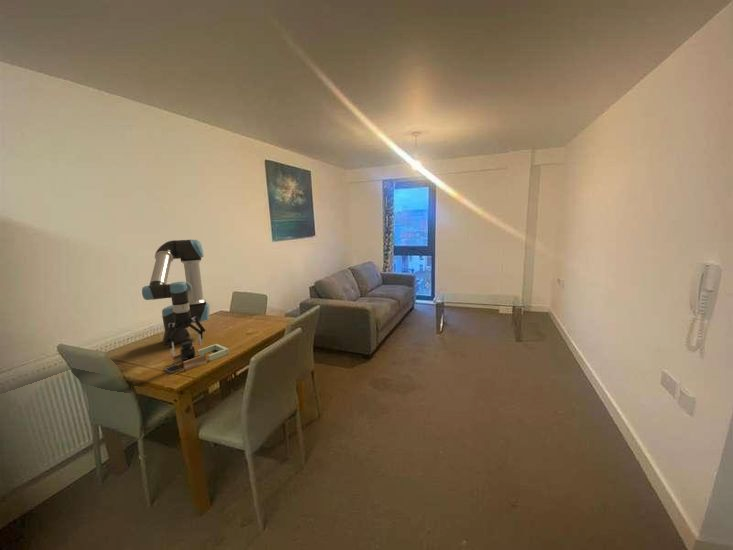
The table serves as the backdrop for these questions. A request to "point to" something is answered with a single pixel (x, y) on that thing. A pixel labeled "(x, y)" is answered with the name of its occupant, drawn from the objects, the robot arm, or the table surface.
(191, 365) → the channel
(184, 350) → the supplement bottle
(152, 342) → the table surface
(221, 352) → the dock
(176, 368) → the mat
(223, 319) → the table surface
